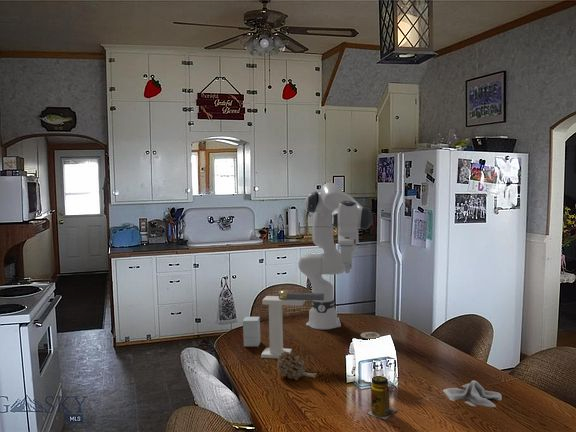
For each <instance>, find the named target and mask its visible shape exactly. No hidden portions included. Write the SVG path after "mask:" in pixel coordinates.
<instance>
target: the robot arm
mask: <svg viewBox="0 0 576 432" xmlns="http://www.w3.org/2000/svg"><path fill="white" fill-rule="evenodd" d="M304 203H305V204H304V205H305V208H306V211H308V212H309V213H313V218H312V237H311V238H312V243H313V244H314V245H315V246H317V247H318V248H320V249H321V250H323V253H307V254H302V255H301V256H300V257H299V260H298V263H297V265H298V269H299V271H300V272H301V273H302V274H304V275H305V276H306V277H307V279H308V280H309V282H310V285H311V290H312V292H311V293H323V294H324V301H322V300H311V308H310V309H309V311H308V315H309V316H308V321H307V322H305V326H307V327H310V328H312V329H316V330H332V329H336V328H341V327H342V324H341V320H340V317H338V311H337V310H336V308H335V299H334V286H333V284H332V283H331V282H330V281H328V280H327V279H324V277H323V275H333V276H334V275H340V274H343V273H344V272H345V273H346V274H350V271H351V269H352V265H353V264H352V263H353V259H354V257H355V248H356V245H357V244H359V243H360V242H359V234H360V233H359V230H368V229H369V228H370V227H371V226H372V225H373V223H374V216H373V215H374V214H373V213H372V212H373V211H372V210H371V209H370V208H369V207H367V206H364V205H363V204H362V203H361V202H360V201H359V200H358V199H356V198H355V197H353V196H352V195H351V196H350V195H349V194H347V193H346V192H344V191H343V190H342V189H341V188H340V186H339V185H337V184H336V183H333V182H327V183H325V184H323V185H322V186H321V188H320V191H313V192H310V193H308V194H307V195H306V197H305V200H304ZM334 228H335V229H337V230H338V231H337V243H338V245H339V246H340V248H339V249H340V252H339V250H338V248H337V247H336V245H335V241H334V240H335V239H334Z"/></svg>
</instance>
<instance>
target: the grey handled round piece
mask: <svg viewBox="0 0 576 432" xmlns="http://www.w3.org/2000/svg"><path fill="white" fill-rule="evenodd" d="M276 359H277V360H276V361H277V362H276V365H277V367H276V369H277V371H278V372H279V373H281V375H282V376H283V377H287V379H289V380H292V379H294V380H295V381H298V380H299V379H300V378H302V377H303V376H305V377H310V378H313V379H314V378H317V375H318V374H317V372H313V373H310V372H306V369H307V367H306V362H305V360H302V358H301V357H300V356H299V355H296V353H294V352H291V353H289V352H284V353H282V354H281V355H280V356H279V358H276Z"/></svg>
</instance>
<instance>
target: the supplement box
mask: <svg viewBox="0 0 576 432" xmlns="http://www.w3.org/2000/svg"><path fill="white" fill-rule="evenodd" d="M260 317H261V316H245V317H244V318H243V320H242V333H243V334H242V335H243V347H259V346H260V345H261V341H262V340H261V318H260Z"/></svg>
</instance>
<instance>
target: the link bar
mask: <svg viewBox="0 0 576 432" xmlns="http://www.w3.org/2000/svg"><path fill="white" fill-rule="evenodd" d="M278 296H279V299H281V300H286V299H289V300H305V301H312V300H322V301H324V294H323V293H312V292H290V291H289V290H286V289H285V290H284V289H283V290H279V291H278Z"/></svg>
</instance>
